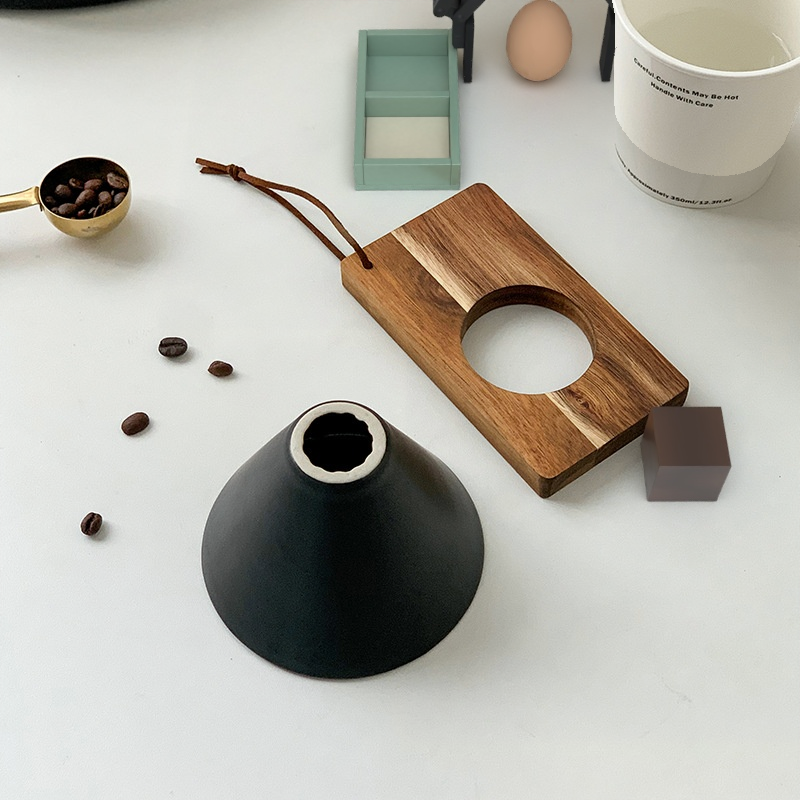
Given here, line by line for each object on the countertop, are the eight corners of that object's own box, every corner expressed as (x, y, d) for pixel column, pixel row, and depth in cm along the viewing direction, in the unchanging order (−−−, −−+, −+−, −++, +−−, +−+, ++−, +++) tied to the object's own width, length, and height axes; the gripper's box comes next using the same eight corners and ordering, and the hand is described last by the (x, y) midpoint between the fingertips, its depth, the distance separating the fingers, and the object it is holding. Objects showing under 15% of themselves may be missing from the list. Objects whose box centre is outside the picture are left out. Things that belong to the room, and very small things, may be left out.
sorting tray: (455, 55, 113) (456, 28, 111) (459, 189, 104) (460, 164, 101) (360, 55, 114) (358, 29, 111) (355, 190, 104) (353, 164, 101)
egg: (576, 62, 113) (586, -8, 106) (555, 103, 110) (563, 33, 103) (517, 45, 114) (523, -25, 107) (494, 85, 111) (499, 15, 104)
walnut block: (707, 442, 89) (721, 406, 85) (716, 501, 86) (731, 466, 82) (640, 443, 89) (651, 406, 85) (647, 501, 87) (659, 466, 82)
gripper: (403, -113, 92) (405, 100, 110) (720, -116, 91) (670, 99, 109) (403, -169, 96) (405, 45, 114) (707, -172, 96) (661, 44, 114)
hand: (535, 72), depth 112 cm, fingers open, 12 cm apart
